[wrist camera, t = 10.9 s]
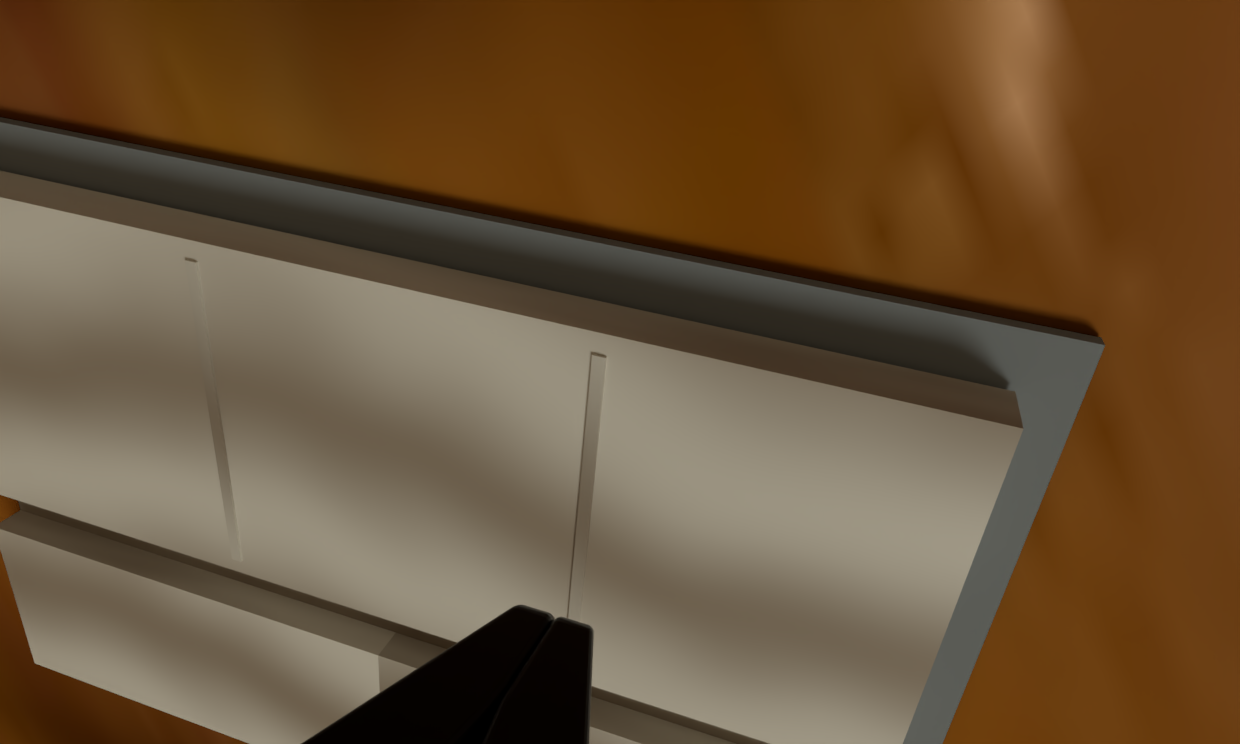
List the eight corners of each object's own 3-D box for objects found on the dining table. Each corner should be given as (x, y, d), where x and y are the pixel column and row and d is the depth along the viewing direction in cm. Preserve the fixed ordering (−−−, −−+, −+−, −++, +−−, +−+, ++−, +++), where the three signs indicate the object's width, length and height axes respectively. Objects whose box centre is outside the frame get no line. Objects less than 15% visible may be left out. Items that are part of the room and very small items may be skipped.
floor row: (826, 906, 20) (821, 957, 19) (71, 634, 25) (34, 663, 24) (882, 752, 17) (880, 801, 16) (30, 482, 22) (-13, 507, 21)
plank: (889, 731, 17) (887, 784, 16) (25, 463, 22) (-20, 489, 21) (1015, 391, 13) (1024, 430, 12) (-64, 156, 18) (-125, 169, 17)
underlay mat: (870, 909, 20) (869, 922, 20) (79, 627, 25) (71, 634, 25) (1101, 336, 13) (1105, 345, 13) (-56, 105, 18) (-70, 107, 18)
